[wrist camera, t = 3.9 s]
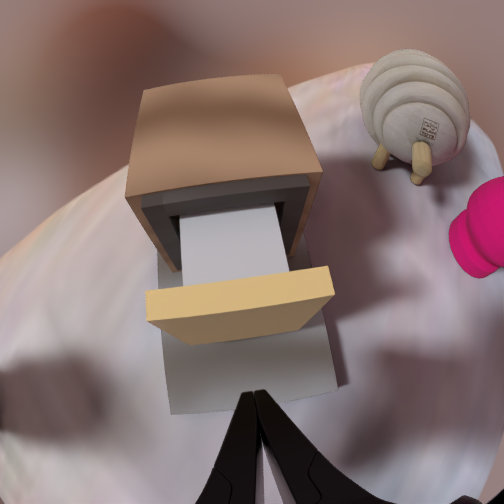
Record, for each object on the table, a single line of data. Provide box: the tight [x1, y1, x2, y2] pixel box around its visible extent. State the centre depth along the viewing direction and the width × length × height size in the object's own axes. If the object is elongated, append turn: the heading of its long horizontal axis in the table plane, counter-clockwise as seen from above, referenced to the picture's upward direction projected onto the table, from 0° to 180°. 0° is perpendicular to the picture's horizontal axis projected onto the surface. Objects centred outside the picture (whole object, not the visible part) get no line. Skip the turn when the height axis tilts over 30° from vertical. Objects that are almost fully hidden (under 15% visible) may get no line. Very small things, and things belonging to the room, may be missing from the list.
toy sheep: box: [360, 49, 470, 185], centre depth 20 cm, size 11×17×11 cm, turn 165°
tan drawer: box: [145, 203, 335, 345], centre depth 14 cm, size 11×6×7 cm, turn 9°
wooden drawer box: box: [125, 74, 338, 415], centre depth 15 cm, size 18×10×9 cm, turn 9°
